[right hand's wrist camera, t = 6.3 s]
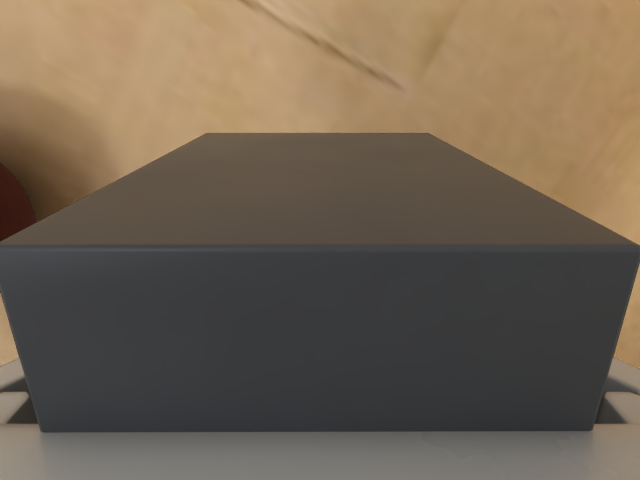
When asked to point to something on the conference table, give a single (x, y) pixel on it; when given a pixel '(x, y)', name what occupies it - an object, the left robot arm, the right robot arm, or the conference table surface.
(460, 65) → the conference table surface
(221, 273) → the box
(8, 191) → the dark red ball
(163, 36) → the conference table surface
